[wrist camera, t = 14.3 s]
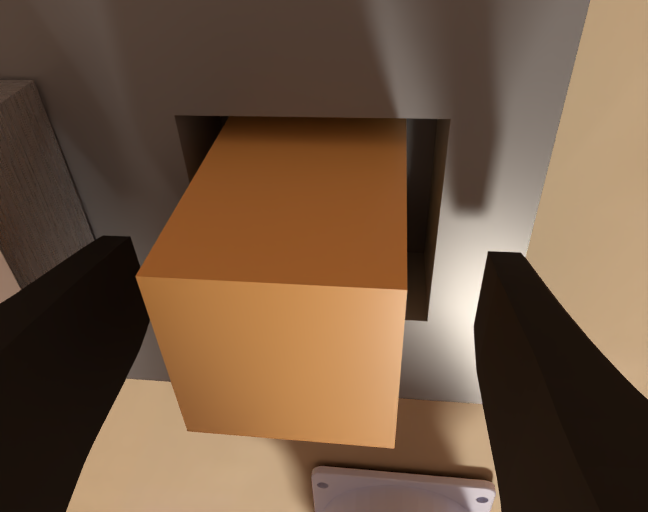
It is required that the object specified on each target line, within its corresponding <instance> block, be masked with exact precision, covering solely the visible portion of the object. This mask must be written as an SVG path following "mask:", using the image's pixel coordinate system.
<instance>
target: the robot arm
mask: <svg viewBox="0 0 648 512" xmlns="http://www.w3.org/2000/svg"><path fill="white" fill-rule="evenodd" d="M140 268H141V267H140V264H139V261H138V258H137V255H136V252H135V249H134V246H133V243H132V239H131V237H130V236H105V235H103V236H101V237H99V238H98V239H96V240H94V241H93V242H91V243H89V244H88V245H86V246H85V247H83V248H82V249H80V250H79V251H77V252H76V253H74V254H73V255H71V256H70V257H68V258H67V259H65V260H64V261H62V262H61V263H60V264H58V265H57V266H55V267H54V268H52V269H51V270H49V271H48V272H46V273H45V274H44V275H42V276H41V277H39V278H38V279H36V280H35V281H33V282H32V283H30V284H29V285H27V286H26V287H24V288H23V289H22V290H20V291H19V292H17V293H16V294H14V295H13V296H11V297H10V298H8V299H6V300H5V301H3V302H2V303H0V512H66V510H67V507H68V505H69V502H70V499H71V497H72V494H73V491H74V489H75V486H76V484H77V481H78V478H79V476H80V473H81V470H82V468H83V465H84V463H85V461H86V458H87V456H88V454H89V452H90V450H91V447H92V445H93V443H94V441H95V439H96V437H97V435H98V433H99V431H100V429H101V427H102V425H103V423H104V421H105V419H106V417H107V415H108V413H109V411H110V409H111V407H112V405H113V403H114V401H115V399H116V397H117V395H118V394H119V392H120V390H121V388H122V386H123V384H124V382H125V380H126V378H127V376H128V374H129V371H130V369H131V367H132V365H133V363H134V361H135V359H136V357H137V355H138V353H139V351H140V348H141V345H142V343H143V340H144V337H145V334H146V331H147V328H148V325H149V322H150V318H149V315H148V312H147V309H146V306H145V303H144V300H143V297H142V294H141V291H140V288H139V286H138V283H137V280H136V277H135V276H136V274H137V273H138V271H139V269H140ZM473 327H474V343H475V358H476V371H477V377H478V383H479V388H480V393H481V399H482V404H483V409H484V414H485V419H486V424H487V430H488V435H489V440H490V445H491V450H492V455H493V460H494V465H495V470H496V475H497V481H498V488H499V494H500V501H501V511H502V512H648V399H647V398H646V397H644V396H643V395H642V394H641V393H640V392H639V391H638V390H637V389H636V388H635V387H634V386H633V385H632V384H631V383H630V382H629V381H628V380H627V379H626V378H625V377H624V376H623V375H622V374H621V373H620V372H619V371H618V370H617V369H616V368H615V366H614V365H613V364H612V363H611V362H610V361H609V360H608V359H607V358H606V357H605V356H604V355H603V354H602V353H601V351H600V350H599V349H598V348H597V347H596V346H595V345H594V344H593V342H592V341H591V340H590V339H589V338H588V337H587V335H586V334H585V333H584V332H583V331H582V329H581V328H580V327H579V326H578V325H577V324H576V322H575V321H574V320H573V319H572V318H571V316H570V315H569V314H568V313H567V312H566V310H565V309H564V308H563V307H562V305H561V304H560V303H559V302H558V300H557V299H556V298H555V296H554V295H553V294H552V292H551V291H550V290H549V289H548V287H547V286H546V285H545V283H544V282H543V281H542V279H541V278H540V277H539V275H538V274H537V273H536V271H535V270H534V269H533V267H532V266H531V264H530V263H529V262H528V260H527V259H526V258H525V257H524V255H523V254H522V253H521V252H497V251H488V253H487V258H486V264H485V269H484V274H483V279H482V284H481V290H480V295H479V300H478V305H477V310H476V316H475V321H474V326H473ZM311 480H312V489H313V499H314V509H315V512H490V511H491V508H492V504H493V501H494V498H495V495H496V492H495V485H494V484H493V483H492V482H490V481H486V480H478V479H466V478H455V477H443V476H432V475H420V474H409V473H397V472H386V471H374V470H363V469H352V468H340V467H329V466H318V467H315V468H314V469H313V470H312V476H311Z"/></svg>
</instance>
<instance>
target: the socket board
mask: <svg viewBox="0 0 648 512" xmlns="http://www.w3.org/2000/svg"><path fill="white" fill-rule="evenodd" d="M589 3H590V0H0V80H34V83H35V85H36V88H37V90H38V93H39V96H40V98H41V101H42V104H43V106H44V109H45V111H46V114H47V117H48V119H49V122H50V124H51V127H52V130H53V132H54V135H55V138H56V140H57V143H58V145H59V148H60V151H61V153H62V156H63V159H64V161H65V164H66V166H67V169H68V172H69V174H70V177H71V180H72V182H73V185H74V187H75V190H76V193H77V195H78V198H79V200H80V203H81V206H82V208H83V211H84V214H85V216H86V219H87V221H88V224H89V227H90V229H91V232H92V235H93V237H94V240H96V239H98V238H99V237H101V236H103V235H105V236H130V237H131V239H132V243H133V246H134V249H135V252H136V255H137V258H138V261H139V264H140V267H141V266H142V264H143V263H144V261H145V259H146V257H147V256H148V254H149V252H150V251H151V249H152V247H153V245H154V244H155V242H156V240H157V239H158V237H159V235H160V234H161V232H162V230H163V228H164V227H165V225H166V223H167V222H168V220H169V218H170V217H171V215H172V213H173V211H174V210H175V208H176V206H177V205H178V203H179V201H180V199H181V198H182V196H183V194H184V193H185V191H186V189H187V188H188V186H189V184H190V182H191V181H192V179H193V177H194V176H195V174H196V172H197V171H198V169H199V167H200V165H201V164H202V162H203V160H204V159H205V157H206V155H207V154H208V152H209V150H210V148H211V147H212V145H213V143H214V142H215V140H216V138H217V136H218V135H219V133H220V131H221V130H222V128H223V126H224V125H225V123H226V121H227V119H228V118H229V116H265V117H340V118H406V158H407V300H406V312H405V324H404V336H403V349H402V361H401V373H400V385H399V398H406V399H419V400H433V401H447V402H461V403H475V404H482V399H481V393H480V388H479V383H478V377H477V371H476V358H475V343H474V327H473V326H474V321H475V316H476V310H477V305H478V300H479V295H480V290H481V284H482V279H483V274H484V269H485V264H486V258H487V253H488V251H497V252H521V253H522V254H523V255H524V257H526V253H527V249H528V245H529V241H530V237H531V233H532V230H533V226H534V222H535V218H536V214H537V210H538V206H539V202H540V198H541V194H542V190H543V186H544V182H545V178H546V174H547V170H548V166H549V162H550V158H551V154H552V150H553V146H554V142H555V138H556V134H557V130H558V126H559V122H560V118H561V114H562V110H563V106H564V102H565V98H566V94H567V90H568V86H569V82H570V78H571V74H572V70H573V66H574V62H575V59H576V55H577V51H578V47H579V43H580V39H581V35H582V31H583V27H584V23H585V19H586V15H587V11H588V7H589ZM127 379H141V380H155V381H169V382H171V380H170V377H169V374H168V371H167V368H166V365H165V363H164V360H163V357H162V354H161V351H160V348H159V345H158V342H157V339H156V336H155V333H154V330H153V327H152V324H151V321H150V322H149V325H148V328H147V331H146V334H145V337H144V340H143V343H142V345H141V348H140V351H139V353H138V355H137V357H136V359H135V361H134V363H133V365H132V367H131V369H130V371H129V374H128V376H127Z"/></svg>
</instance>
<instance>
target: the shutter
mask: <svg viewBox="0 0 648 512" xmlns="http://www.w3.org/2000/svg"><path fill="white" fill-rule="evenodd" d="M93 241H94V237H93V235H92V232H91V229H90V227H89V224H88V221H87V219H86V216H85V214H84V211H83V208H82V206H81V203H80V200H79V198H78V195H77V193H76V190H75V187H74V185H73V182H72V180H71V177H70V174H69V172H68V169H67V166H66V164H65V161H64V159H63V156H62V153H61V151H60V148H59V145H58V143H57V140H56V138H55V135H54V132H53V130H52V127H51V124H50V122H49V119H48V117H47V114H46V111H45V109H44V106H43V104H42V101H41V98H40V96H39V93H38V90H37V88H36V85H35V83H34V80H0V303H2V302H3V301H5V300H6V299H8V298H10V297H11V296H13V295H14V294H16V293H17V292H19V291H20V290H22V289H23V288H24V287H26V286H27V285H29V284H30V283H32V282H33V281H35V280H36V279H38V278H39V277H41V276H42V275H44V274H45V273H46V272H48V271H49V270H51V269H52V268H54V267H55V266H57V265H58V264H60V263H61V262H62V261H64V260H65V259H67V258H68V257H70V256H71V255H73V254H74V253H76V252H77V251H79V250H80V249H82V248H83V247H85V246H86V245H88V244H89V243H91V242H93Z"/></svg>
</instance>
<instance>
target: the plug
mask: <svg viewBox="0 0 648 512" xmlns="http://www.w3.org/2000/svg"><path fill="white" fill-rule="evenodd" d="M135 277H136V280H137V283H138V286H139V288H140V291H141V294H142V297H143V300H144V303H145V306H146V309H147V312H148V315H149V318H150V321H151V324H152V327H153V330H154V333H155V336H156V339H157V342H158V345H159V348H160V351H161V354H162V357H163V360H164V363H165V365H166V368H167V371H168V374H169V377H170V380H171V383H172V386H173V389H174V392H175V395H176V398H177V401H178V404H179V407H180V410H181V413H182V416H183V419H184V422H185V425H186V428H187V431H191V432H203V433H215V434H227V435H239V436H251V437H263V438H275V439H287V440H299V441H311V442H323V443H335V444H347V445H359V446H371V447H383V448H394V447H395V434H396V422H397V410H398V398H399V385H400V373H401V361H402V349H403V336H404V324H405V312H406V300H407V158H406V118H340V117H265V116H229V118H228V119H227V121H226V123H225V125H224V126H223V128H222V130H221V131H220V133H219V135H218V136H217V138H216V140H215V142H214V143H213V145H212V147H211V148H210V150H209V152H208V154H207V155H206V157H205V159H204V160H203V162H202V164H201V165H200V167H199V169H198V171H197V172H196V174H195V176H194V177H193V179H192V181H191V182H190V184H189V186H188V188H187V189H186V191H185V193H184V194H183V196H182V198H181V199H180V201H179V203H178V205H177V206H176V208H175V210H174V211H173V213H172V215H171V217H170V218H169V220H168V222H167V223H166V225H165V227H164V228H163V230H162V232H161V234H160V235H159V237H158V239H157V240H156V242H155V244H154V245H153V247H152V249H151V251H150V252H149V254H148V256H147V257H146V259H145V261H144V263H143V264H142V266H141V268H140V269H139V271H138V273H137V274H136V276H135Z"/></svg>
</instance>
